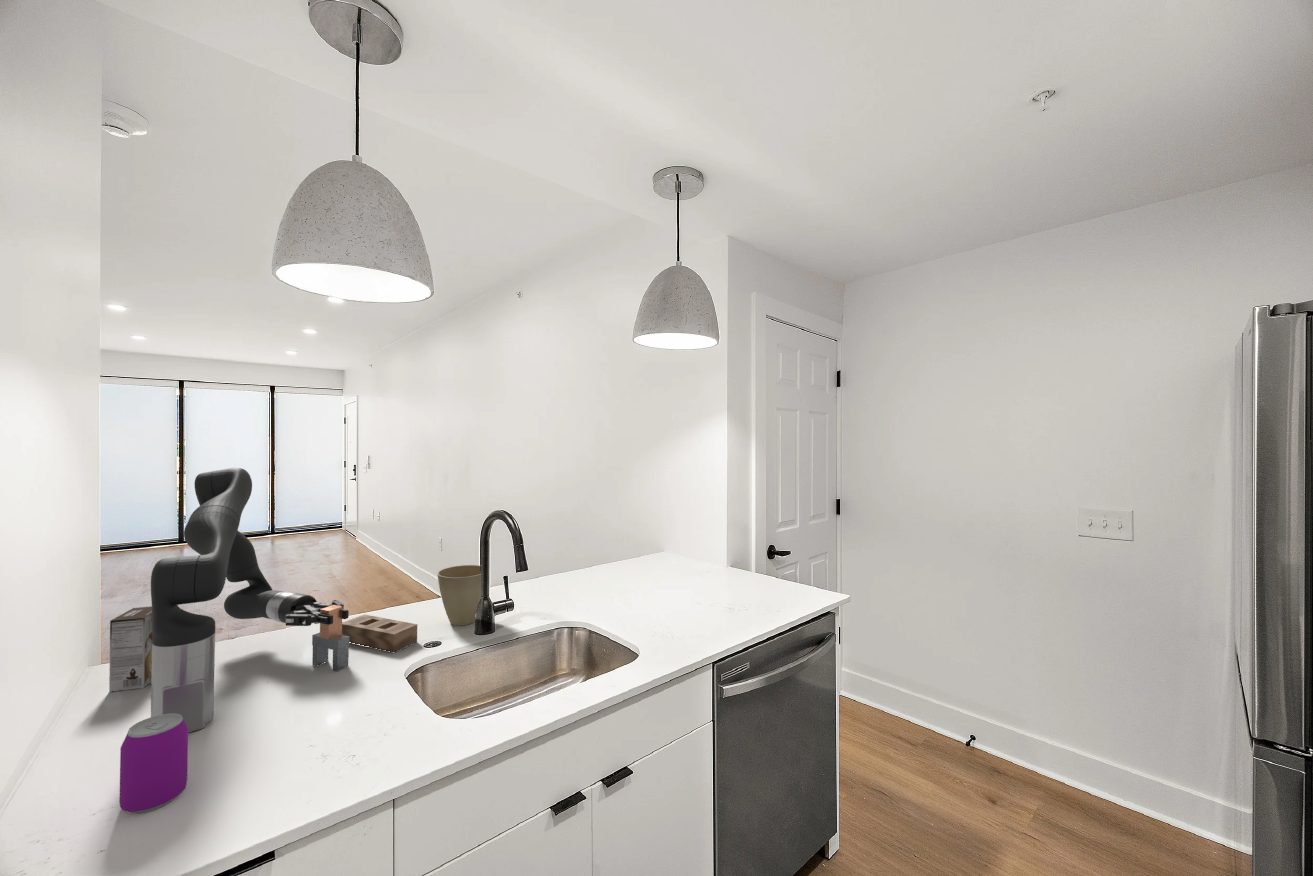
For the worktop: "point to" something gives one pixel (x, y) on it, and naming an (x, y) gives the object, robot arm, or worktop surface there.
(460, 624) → the plant pot
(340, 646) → the block on stand
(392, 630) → the slotted block
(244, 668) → the worktop surface
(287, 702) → the worktop surface
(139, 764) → the beverage can
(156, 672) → the robot arm
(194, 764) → the worktop surface
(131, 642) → the coffee box
